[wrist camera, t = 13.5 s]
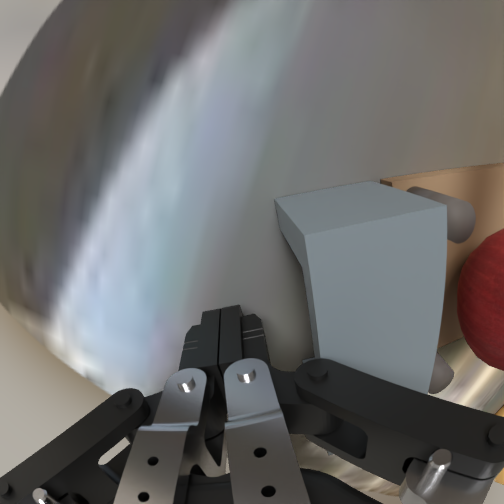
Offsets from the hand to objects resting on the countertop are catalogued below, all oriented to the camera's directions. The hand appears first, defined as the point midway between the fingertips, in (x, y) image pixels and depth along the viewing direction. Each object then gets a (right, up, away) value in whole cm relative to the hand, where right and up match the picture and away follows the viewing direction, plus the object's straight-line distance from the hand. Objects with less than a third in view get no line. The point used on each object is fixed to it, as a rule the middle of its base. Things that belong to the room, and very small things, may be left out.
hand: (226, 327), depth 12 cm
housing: (+5, +1, +1) cm, 5 cm away
